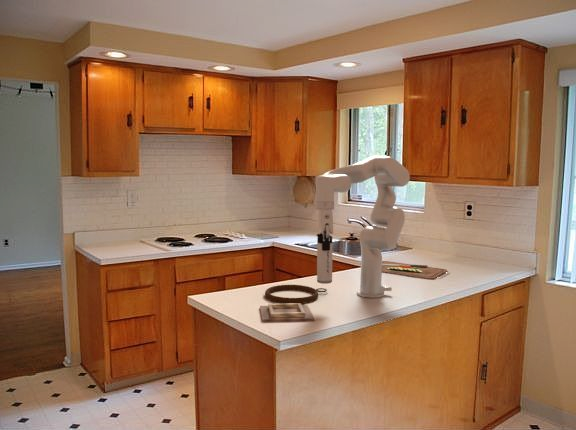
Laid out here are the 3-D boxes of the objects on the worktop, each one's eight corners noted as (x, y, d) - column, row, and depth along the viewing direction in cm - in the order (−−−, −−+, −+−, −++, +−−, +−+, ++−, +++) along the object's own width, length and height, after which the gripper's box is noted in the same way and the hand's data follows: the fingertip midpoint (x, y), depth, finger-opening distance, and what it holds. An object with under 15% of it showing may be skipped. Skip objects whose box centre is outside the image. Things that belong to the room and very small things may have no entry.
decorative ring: (339, 294, 230) (277, 300, 219) (339, 300, 231) (277, 307, 219) (315, 281, 253) (257, 286, 241) (315, 287, 253) (257, 293, 241)
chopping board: (358, 269, 294) (358, 264, 293) (379, 262, 316) (379, 257, 315) (436, 281, 268) (436, 276, 268) (453, 272, 290) (453, 267, 290)
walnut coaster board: (307, 307, 218) (307, 301, 218) (314, 320, 201) (314, 314, 200) (259, 308, 216) (260, 302, 216) (262, 322, 198) (262, 315, 198)
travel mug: (318, 279, 220) (318, 232, 218) (333, 280, 218) (333, 233, 216) (314, 283, 214) (314, 235, 212) (330, 284, 212) (330, 236, 210)
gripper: (338, 207, 204) (337, 252, 206) (329, 203, 221) (329, 244, 223) (319, 208, 203) (318, 253, 205) (312, 203, 220) (312, 245, 223)
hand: (324, 248), depth 214 cm, fingers closed on travel mug, 6 cm apart
